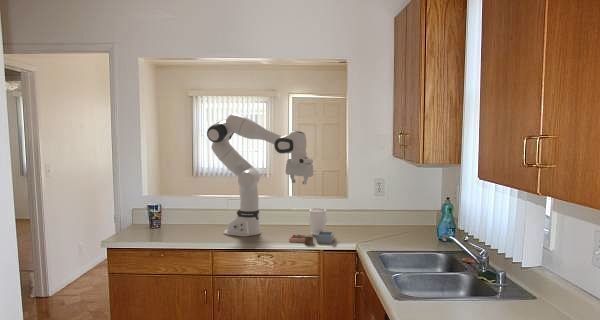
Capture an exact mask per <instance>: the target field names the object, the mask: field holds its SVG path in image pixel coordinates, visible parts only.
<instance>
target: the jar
mask: <svg viewBox="0 0 600 320" xmlns="http://www.w3.org/2000/svg"><path fill="white" fill-rule="evenodd" d="M308 211H309V216H308V223H309V228H310V231H311V232H310V235H313V236H317V234H318V232H319V231H323V232H325V230H326V224H327V213H326V212H327V209H326V208H321V207H320V208H319V207H318V208H317V207H316V208H310V209H309V210H308Z"/></svg>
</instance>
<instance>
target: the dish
mask: <svg viewBox="0 0 600 320" xmlns="http://www.w3.org/2000/svg"><path fill="white" fill-rule="evenodd" d="M296 235H297V234H291V235H290V236H289V238H288V242H289V243H304V244H305V236H306V235H307V234H300V235H301V239H297V238H296Z"/></svg>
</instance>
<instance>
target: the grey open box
mask: <svg viewBox="0 0 600 320" xmlns="http://www.w3.org/2000/svg"><path fill="white" fill-rule="evenodd" d="M333 242H334V231H324V232H323V231H319V232H318V234H317V235H316V243H317V244H332V243H333Z"/></svg>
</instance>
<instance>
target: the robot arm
mask: <svg viewBox="0 0 600 320" xmlns="http://www.w3.org/2000/svg"><path fill="white" fill-rule="evenodd" d="M234 134H236V135H238V136H240V137H243V138H244V139H248V140H260V141H261V140H262V141H264V142H267V143H270V144H272V145H274V149H275V151H276V152H277V153H279V154H282V155H283V154H290V158H288V159H287V160H286V165H285V174H286V175H289V177H290V180H291V184H292V183H293V184H296V179H295V176H296V177H303V181H302V182H301V183H302V185H304V186H305V185H307V181H308V179H309V178H311V177H313V176H314V166H313V165H314V164H313V162H314V159H313V158H311V157H309V156H308V154H307V136H306V133H305V132H303V131H298V130H292V131H291V132H290V133H287V134H286V135H283V136H282V135H279V134H278V133H275V132H272V131H270V130H268V129H266V128H265V127H263V126H261V125H260V124H258V123H257V122H256V121H254V120H252V119H250V118H247V117H245V116H243V115H239V114H237V113H231V114H229V115H228V116H227V118H226V119H223V120H219V121H216V122H215V123H214V124H212V125H210V127H208V128H207V131H206V136H207V139H208V140H209V142H212V144H211V150H212V152H213V153H214V155H215V156H216V157H217V159H218V160H219V161H220V162H221V163H222V164H223V165H224V166H225V168H226V169H227V170H229V171H230V172H231V173H233V174H234V175H235V176H236V177H237V179H238V180H237V181H238V191H239V198H240V199H239V203H240V204H239V209H238V210H237V211H236V214H237V215H236V216H235V217H234V218H233V219H231V220H230V221H229V222H228V225H227V229H226V228H225V230H224V231H223V234H224V235H228V236H237V237H249V236H250V237H251V236H257V235H259V234H262V231H261V225H260V209H259V206H260V205H259V203H260V202H259V200H260V199H259V193H258V192H259V191H258V183H259V182H260V178H261V175H260V173H259V171H258V170H257V169H256V168H255V167H254V166H253V165H252V164H250V163H249V161H247V160H246V159H245V158H244V157H243V156H242V155H241V154H240V153H239V152H238V151H237V149H236V148H234V146H232V145H231V143H230V142H229V140H231V139H232V137H233V135H234Z"/></svg>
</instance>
